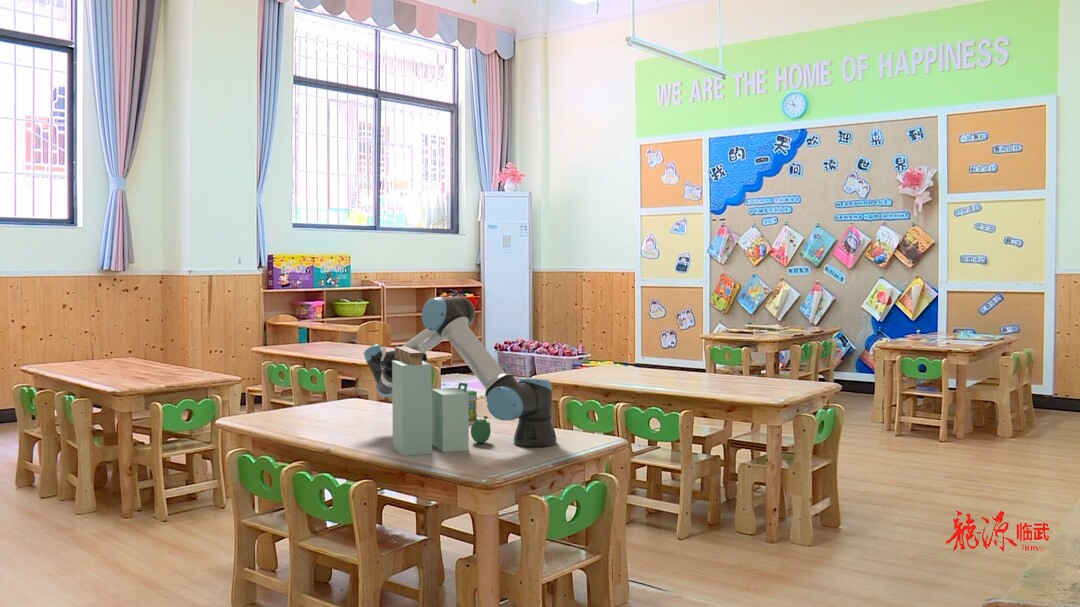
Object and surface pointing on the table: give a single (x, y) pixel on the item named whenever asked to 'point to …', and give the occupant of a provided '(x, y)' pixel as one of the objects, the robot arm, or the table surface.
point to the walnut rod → (408, 355)
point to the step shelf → (427, 412)
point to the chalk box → (470, 400)
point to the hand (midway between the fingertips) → (403, 349)
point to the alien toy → (480, 430)
